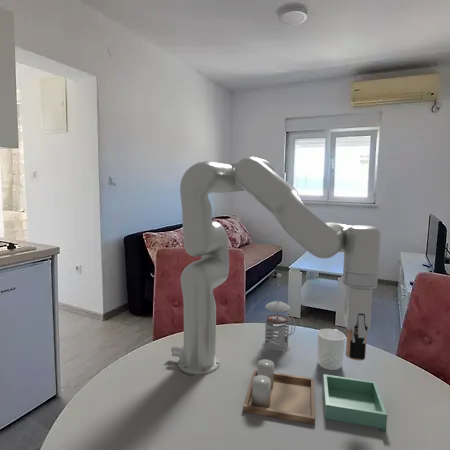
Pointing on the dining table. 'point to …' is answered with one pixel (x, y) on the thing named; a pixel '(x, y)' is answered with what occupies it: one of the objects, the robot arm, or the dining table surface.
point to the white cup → (330, 348)
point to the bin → (353, 401)
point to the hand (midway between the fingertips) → (355, 352)
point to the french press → (281, 340)
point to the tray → (286, 399)
